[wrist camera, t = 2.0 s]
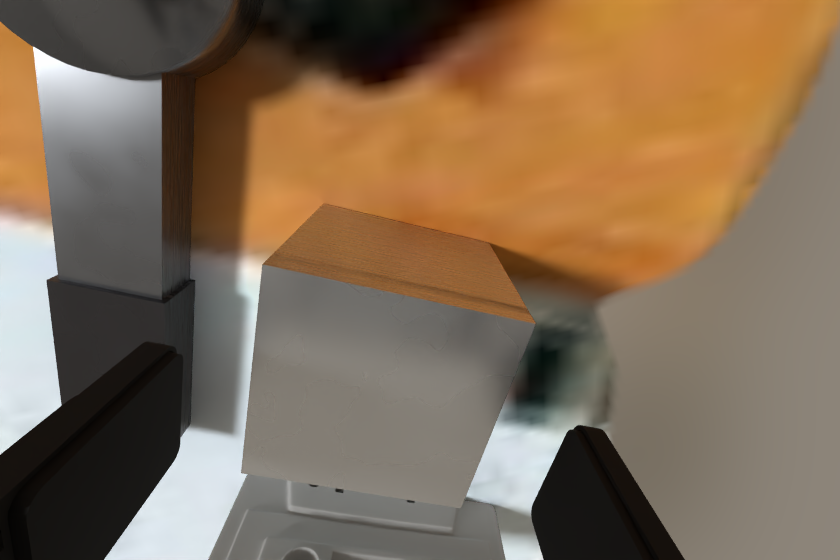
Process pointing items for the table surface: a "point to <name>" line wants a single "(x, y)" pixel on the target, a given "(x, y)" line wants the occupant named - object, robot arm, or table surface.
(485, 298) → the grey block
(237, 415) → the table surface
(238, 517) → the cassette
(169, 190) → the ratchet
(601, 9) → the table surface
